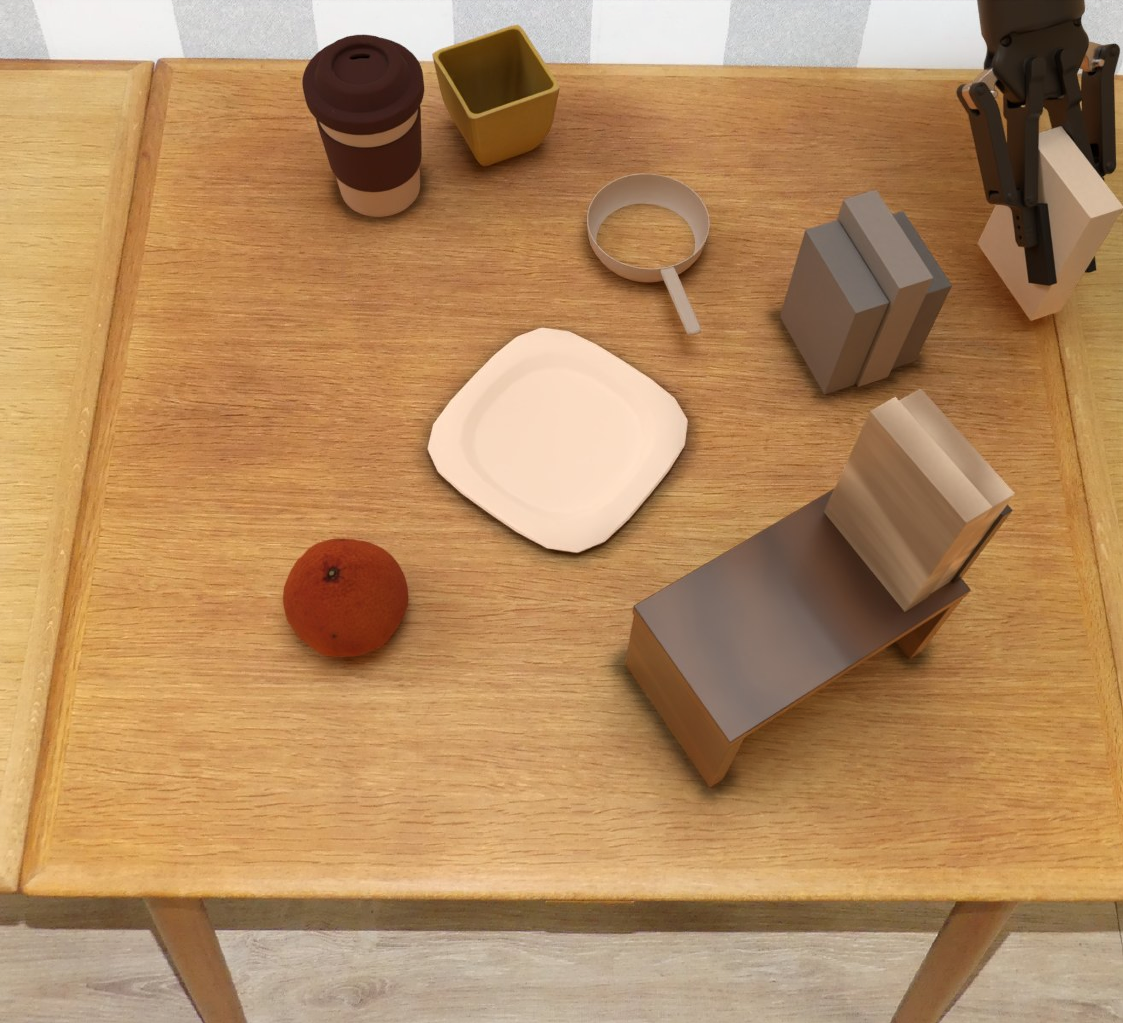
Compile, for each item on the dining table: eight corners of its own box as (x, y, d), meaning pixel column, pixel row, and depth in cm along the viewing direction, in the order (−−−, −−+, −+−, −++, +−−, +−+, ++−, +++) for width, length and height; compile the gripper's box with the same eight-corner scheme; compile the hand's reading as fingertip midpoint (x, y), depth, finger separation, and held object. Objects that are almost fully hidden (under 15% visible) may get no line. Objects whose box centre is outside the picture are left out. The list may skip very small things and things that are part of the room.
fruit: (276, 655, 92) (254, 614, 85) (318, 552, 96) (301, 505, 89) (388, 685, 91) (376, 647, 84) (426, 580, 95) (417, 535, 88)
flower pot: (560, 160, 115) (562, 87, 107) (475, 191, 113) (470, 118, 105) (520, 98, 118) (519, 22, 110) (437, 126, 116) (429, 51, 108)
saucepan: (682, 189, 113) (687, 160, 110) (749, 344, 105) (756, 318, 102) (571, 213, 112) (572, 184, 108) (630, 372, 104) (633, 346, 100)
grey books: (776, 318, 107) (808, 209, 94) (867, 289, 108) (910, 179, 96) (824, 401, 103) (863, 300, 90) (917, 370, 104) (968, 266, 92)
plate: (402, 460, 100) (400, 450, 98) (538, 317, 106) (538, 305, 105) (580, 585, 95) (581, 576, 93) (711, 426, 101) (713, 416, 100)
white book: (977, 243, 108) (1028, 135, 96) (1006, 234, 109) (1061, 125, 97) (1030, 321, 104) (1090, 218, 93) (1060, 311, 105) (1124, 207, 93)
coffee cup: (402, 247, 110) (383, 123, 96) (306, 209, 111) (275, 82, 98) (453, 171, 114) (442, 43, 100) (360, 136, 115) (337, 5, 102)
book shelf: (832, 541, 97) (921, 361, 74) (921, 652, 93) (1044, 497, 70) (621, 667, 92) (649, 515, 69) (706, 791, 88) (764, 671, 65)
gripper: (1085, -42, 98) (1114, 247, 106) (907, 7, 95) (951, 300, 103) (1151, -58, 91) (1178, 252, 99) (962, -6, 88) (1004, 309, 96)
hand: (1062, 276), depth 101 cm, fingers closed on white book, 3 cm apart
